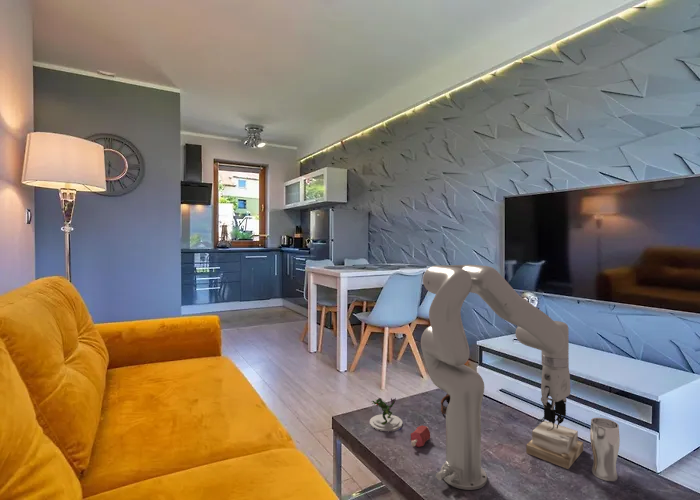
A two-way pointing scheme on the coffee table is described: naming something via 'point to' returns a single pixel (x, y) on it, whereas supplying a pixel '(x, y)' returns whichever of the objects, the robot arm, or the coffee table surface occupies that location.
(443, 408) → the pottery mug
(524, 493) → the coffee table surface
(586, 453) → the coffee table surface
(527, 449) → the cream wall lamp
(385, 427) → the monster figurine
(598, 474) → the beer glass
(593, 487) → the coffee table surface
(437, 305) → the robot arm
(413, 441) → the meat
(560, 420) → the creature
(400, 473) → the coffee table surface
